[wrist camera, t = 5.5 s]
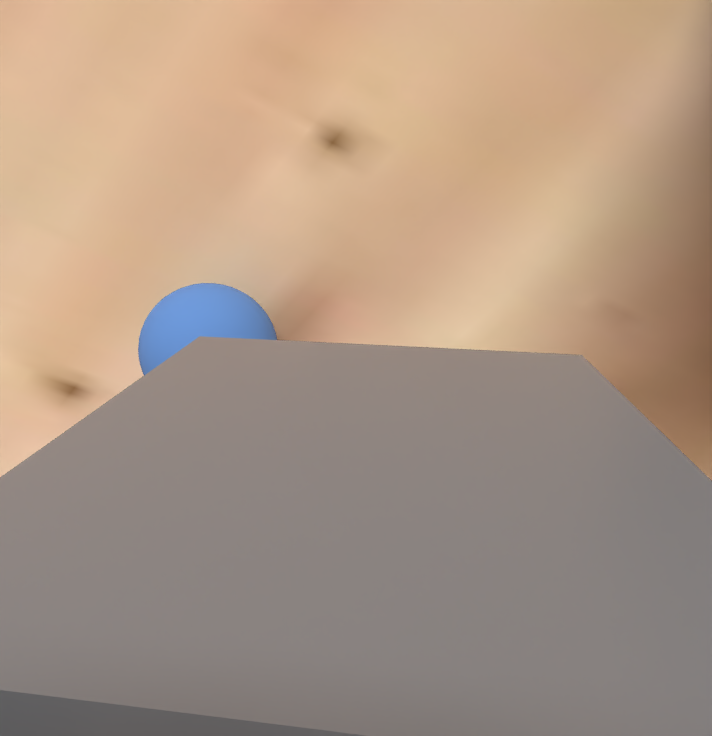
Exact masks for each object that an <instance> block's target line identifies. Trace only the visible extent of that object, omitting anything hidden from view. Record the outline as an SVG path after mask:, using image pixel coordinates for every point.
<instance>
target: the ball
mask: <svg viewBox="0 0 712 736" xmlns="http://www.w3.org/2000/svg"><path fill="white" fill-rule="evenodd" d="M199 336H204V337H224V338H244V339H265V340H277V337H276V333H275V330H274V327H273V324H272V322H271V320H270V318H269V317H268V315H267V314H266V312H265V311H264V310H263V309H262V307H261V306H260V305H259V304H258V303H257V302H256V301H255V300H253V299H252V298H251V297H249V296H248V295H246V294H245V293H243V292H241V291H239V290H237V289H235V288H232V287H229V286H226V285H221V284H214V283H201V284H194V285H190V286H186V287H183V288H180V289H178V290H176V291H174V292H172V293H171V294H169V295H168V296H166V297H164V298H163V299H162V300H161V301H160V302H159V303H158V304H157V305H156V306H155V307H154V308H153V309H152V311H151V312H150V313H149V315H148V317H147V318H146V320H145V322H144V325H143V327H142V330H141V333H140V338H139V347H138V352H139V361H140V365H141V368H142V372H143V374H144V375H146V374H147V373H149V372H150V371H151V370H153V369H154V368H156V367H157V366H158V365H160V364H161V363H163V362H164V361H166V360H167V359H168V358H170V357H171V356H173V355H174V354H175V353H177V352H178V351H180V350H181V349H182V348H184V347H185V346H187V345H188V344H190V343H191V342H192V341H194V340H195V339H197V338H198V337H199Z"/></svg>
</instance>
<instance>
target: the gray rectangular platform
mask: <svg viewBox="0 0 712 736" xmlns="http://www.w3.org/2000/svg"><path fill="white" fill-rule="evenodd" d="M0 736H712V481H711V480H710V479H709V478H708V477H707V476H706V475H705V474H704V473H703V472H702V471H701V470H700V469H699V468H698V467H697V466H696V465H695V464H694V463H693V462H692V461H691V460H690V459H689V458H688V457H687V456H686V455H684V454H683V453H682V452H681V451H680V450H679V449H678V448H677V447H676V446H675V445H674V444H673V443H672V442H671V441H670V440H669V439H668V438H667V437H666V436H665V435H664V434H663V433H662V432H661V431H660V430H659V429H658V428H657V427H656V426H655V425H653V424H652V423H651V422H650V421H649V420H648V419H647V418H646V417H645V416H644V415H643V414H642V413H641V412H640V411H639V410H638V409H637V408H636V407H635V406H634V405H633V404H632V403H631V402H630V401H629V400H628V399H627V398H626V397H625V396H624V395H622V394H621V393H620V392H619V391H618V390H617V389H616V388H615V387H614V386H613V385H612V384H611V383H610V382H609V381H608V380H607V379H606V378H605V377H604V376H603V375H602V374H601V373H600V372H599V371H598V370H597V369H596V368H595V367H594V366H593V365H591V364H590V363H589V362H588V361H587V360H586V359H585V358H584V357H583V356H582V355H570V354H550V353H530V352H509V351H489V350H468V349H448V348H428V347H407V346H387V345H367V344H346V343H326V342H305V341H285V340H265V339H244V338H224V337H204V336H199V337H198V338H197V339H195V340H194V341H192V342H191V343H190V344H188V345H187V346H185V347H184V348H182V349H181V350H180V351H178V352H177V353H175V354H174V355H173V356H171V357H170V358H168V359H167V360H166V361H164V362H163V363H161V364H160V365H158V366H157V367H156V368H154V369H153V370H151V371H150V372H149V373H147V374H146V375H144V376H143V377H142V378H140V379H139V380H137V381H136V382H134V383H133V384H132V385H130V386H129V387H127V388H126V389H125V390H123V391H122V392H120V393H119V394H118V395H116V396H115V397H113V398H112V399H110V400H109V401H108V402H106V403H105V404H103V405H102V406H101V407H99V408H98V409H96V410H95V411H94V412H92V413H91V414H89V415H88V416H86V417H85V418H84V419H82V420H81V421H79V422H78V423H77V424H75V425H74V426H72V427H71V428H70V429H68V430H67V431H65V432H64V433H62V434H61V435H60V436H58V437H57V438H55V439H54V440H53V441H51V442H50V443H48V444H47V445H45V446H44V447H43V448H41V449H40V450H38V451H37V452H36V453H34V454H33V455H31V456H30V457H29V458H27V459H26V460H24V461H23V462H21V463H20V464H19V465H17V466H16V467H14V468H13V469H12V470H10V471H9V472H7V473H6V474H5V475H3V476H2V477H0Z"/></svg>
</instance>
